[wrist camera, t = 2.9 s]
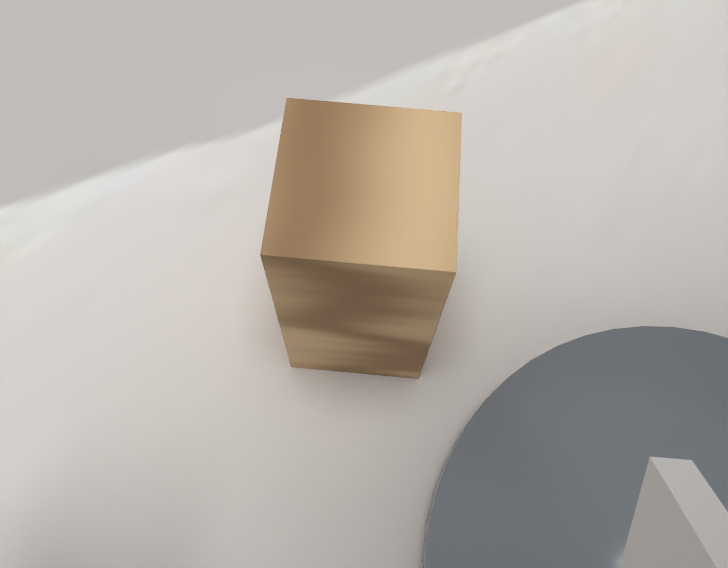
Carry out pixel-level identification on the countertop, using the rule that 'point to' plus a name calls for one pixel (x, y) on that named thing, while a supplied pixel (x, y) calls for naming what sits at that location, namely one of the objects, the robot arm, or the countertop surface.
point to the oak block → (362, 233)
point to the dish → (579, 449)
